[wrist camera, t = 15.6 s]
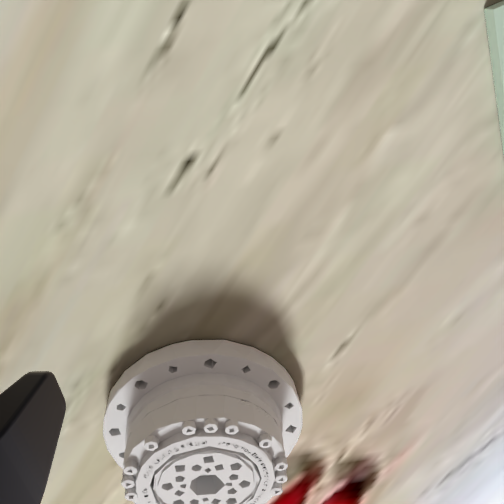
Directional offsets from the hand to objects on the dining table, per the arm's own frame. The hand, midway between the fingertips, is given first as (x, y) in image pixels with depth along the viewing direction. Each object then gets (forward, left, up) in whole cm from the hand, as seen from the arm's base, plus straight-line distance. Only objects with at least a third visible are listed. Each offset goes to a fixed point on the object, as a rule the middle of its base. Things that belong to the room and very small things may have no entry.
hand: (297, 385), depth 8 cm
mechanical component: (-7, -11, -12) cm, 18 cm away
